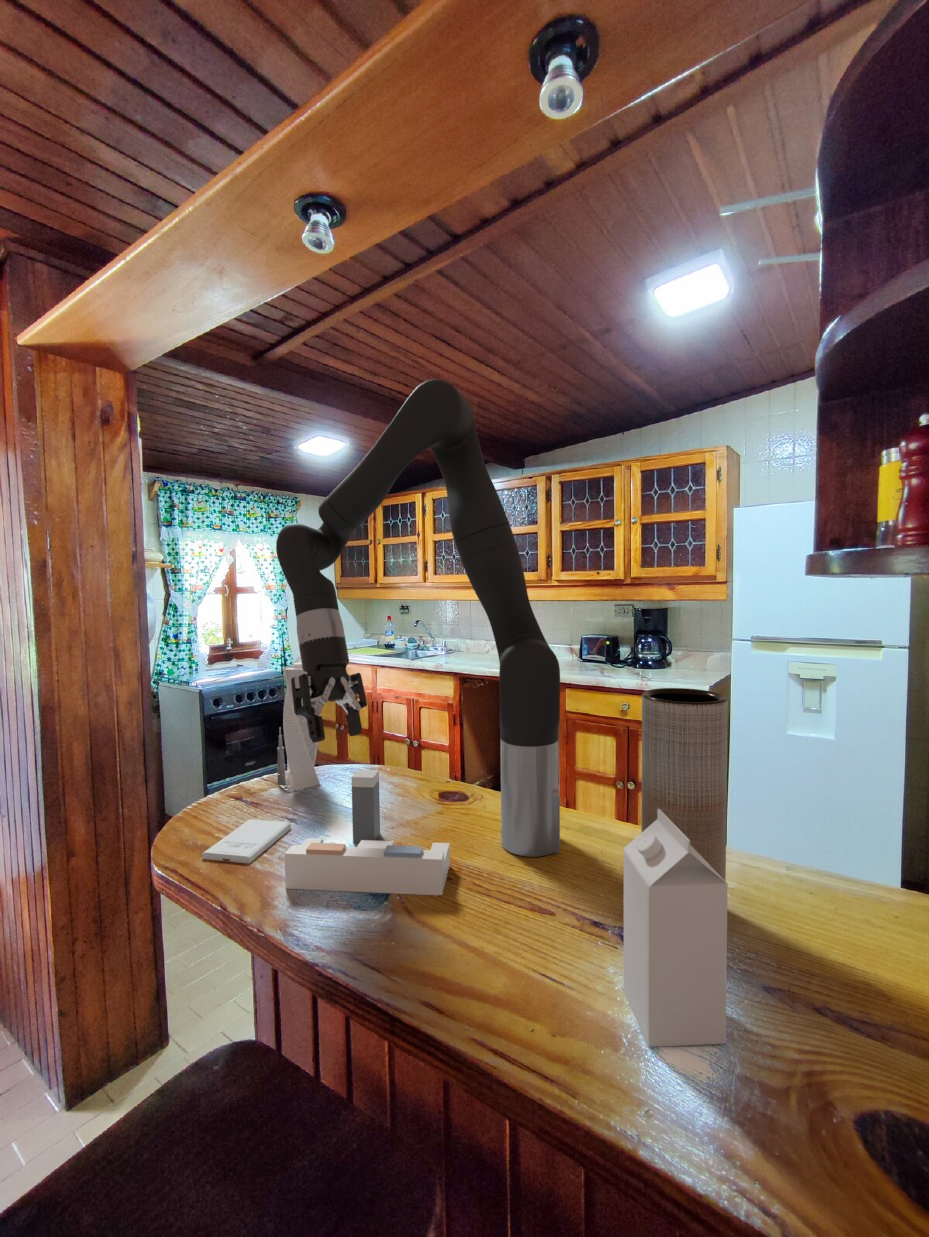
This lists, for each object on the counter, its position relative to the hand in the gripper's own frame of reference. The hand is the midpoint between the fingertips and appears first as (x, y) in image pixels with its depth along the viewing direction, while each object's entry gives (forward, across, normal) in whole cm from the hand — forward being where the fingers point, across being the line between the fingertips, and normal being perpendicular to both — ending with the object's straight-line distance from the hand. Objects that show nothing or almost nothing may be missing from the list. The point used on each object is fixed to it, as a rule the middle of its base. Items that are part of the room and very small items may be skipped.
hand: (338, 738), depth 88 cm
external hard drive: (+14, -4, +19) cm, 24 cm away
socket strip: (+20, -3, -5) cm, 21 cm away
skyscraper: (+7, +20, +30) cm, 37 cm away
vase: (+31, +9, -44) cm, 54 cm away
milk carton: (+34, -10, -45) cm, 57 cm away
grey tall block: (+17, +6, +3) cm, 18 cm away
